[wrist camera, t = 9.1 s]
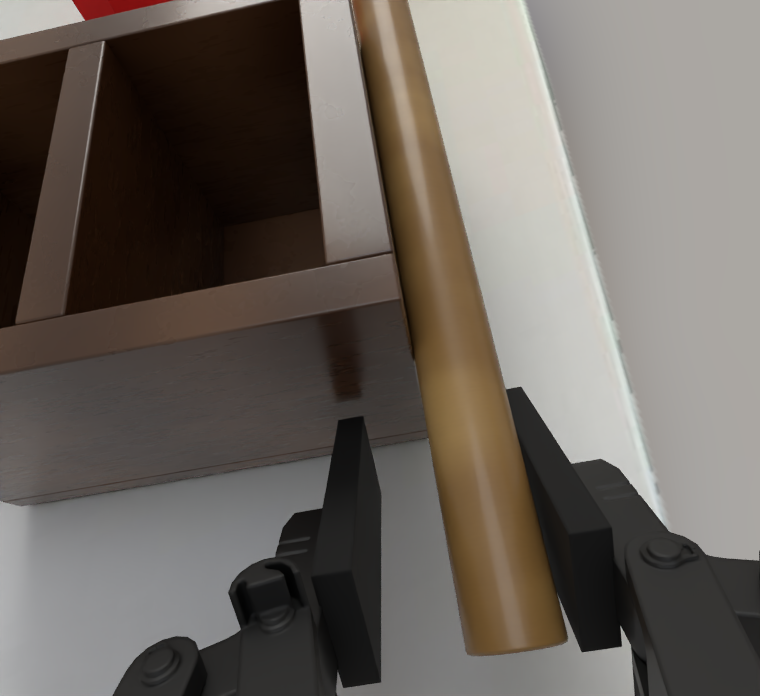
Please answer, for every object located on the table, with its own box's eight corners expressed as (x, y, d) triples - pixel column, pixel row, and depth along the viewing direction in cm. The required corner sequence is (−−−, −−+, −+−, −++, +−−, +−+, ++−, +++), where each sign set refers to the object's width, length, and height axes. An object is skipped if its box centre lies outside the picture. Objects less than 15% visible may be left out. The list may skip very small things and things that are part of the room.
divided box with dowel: (-12, 705, 18) (-479, 801, 9) (77, 157, 29) (-93, -42, 20) (530, 629, 17) (604, 653, 8) (407, 86, 28) (380, -159, 19)
